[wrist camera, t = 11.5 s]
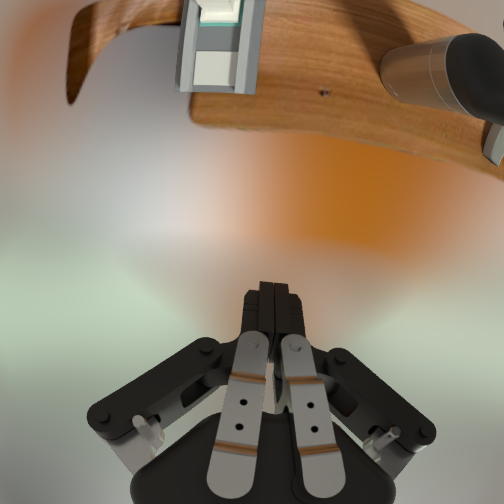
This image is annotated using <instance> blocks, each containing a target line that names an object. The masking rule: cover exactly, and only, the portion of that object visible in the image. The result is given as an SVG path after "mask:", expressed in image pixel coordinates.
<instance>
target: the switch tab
mask: <svg viewBox="0 0 504 504" xmlns="http://www.w3.org/2000/svg"><path fill="white" fill-rule="evenodd" d="M195 1H196V2H197V3H198V4H199V6H200V7H201V8H202V10H201V17H200V21H201V22H202V23H238V21H239V13H240V5H241V0H195Z"/></svg>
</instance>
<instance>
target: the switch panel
mask: <svg viewBox="0 0 504 504" xmlns="http://www.w3.org/2000/svg"><path fill="white" fill-rule="evenodd" d="M265 3H266V0H241V5H240V13H239V21H238V23H202V22H201V21H200V17H201V10H202V8H201V7H200V6H199V4H198V3H197V2H196V1H195V0H184V6H183V13H182V20H181V28H180V36H179V45H178V56H177V65H176V78H175V92H222V93H240V94H252V95H255V92H256V82H257V73H258V64H259V55H260V46H261V37H262V28H263V20H264V11H265Z"/></svg>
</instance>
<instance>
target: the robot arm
mask: <svg viewBox="0 0 504 504" xmlns="http://www.w3.org/2000/svg"><path fill="white" fill-rule="evenodd" d="M503 26H504V22H503ZM380 76H381V80H382V82H383V85H384V86H385V88H386V90H387V91H388V92H389V93H390V94H391V95H392V96H393V97H394V98H395V99H397V100H399V101H401V102H403V103H407V104H414V105H419V106H425V107H430V108H436V109H441V110H445V111H450V112H454V113H459V114H463V115H467V116H471V117H475V118H479V119H482V120H486V121H489V122H492V123H495V124H498V125H501V126H503V127H504V50H503V49H502V48H501V47H500V46H499V45H498V44H497V43H496V42H495V41H494V40H492V39H491V38H489V37H487V36H485V35H482V34H477V33H470V34H462V35H455V36H449V37H444V38H438V39H433V40H428V41H424V42H419V43H415V44H411V45H406V46H402V47H399V48H395V49H392V50H390V51H388V52H387V53H386V54H385V55H384V56H383V58H382V60H381V63H380ZM268 358H269V363H274V370H273V374H272V381H273V393H274V404H275V411H274V414H269V413H266V412H263V411H262V408H263V399H264V391H265V382H266V379H265V373H266V364H267V362H268ZM222 385H228V386H227V391H226V395H225V399H224V404H223V409H222V412H220V413H216V414H213V415H211V416H208V417H207V418H205V419H203V420H202V421H201V422H199V423H198V424H197V425H196V426H195V427H194V428H192V429H191V430H190V431H189V432H187V433H186V434H185V435H184V436H182V437H181V438H180V439H179V440H178V441H176V442H175V443H174V444H172V445H171V446H170V447H168V448H167V449H166V450H165V451H163V452H162V453H161V454H159V455H158V456H157V457H155V454H156V452H157V450H158V449H159V448H160V447H161V446H162V444H163V443H164V440H165V436H164V432H163V429H165V428H166V427H168V426H169V425H170V424H172V423H173V422H175V421H176V420H177V419H179V418H180V417H181V416H183V415H184V414H186V413H187V412H188V411H190V410H191V409H192V408H194V407H195V406H196V405H198V404H199V403H200V402H201V401H203V400H204V399H205V398H207V397H208V396H209V395H210V394H212V393H213V392H214V391H215V390H217V389H218V388H219V387H220V386H222ZM330 412H331V413H332V414H333V415H335V416H336V417H337V418H338V419H339V420H340V421H341V422H342V423H343V424H344V425H345V426H346V427H347V428H348V429H349V430H350V431H351V432H353V433H354V434H355V435H356V436H357V437H358V438H359V439H360V440H361V441H362V442H363V449H362V448H361V447H360V446H359V445H358V444H356V443H355V442H354V441H353V440H352V439H351V438H350V437H349V436H348V435H347V433H346V432H345V431H344V430H342V429H341V427H340V426H338V425H337V424H336V423H335V422H333V421H332V420H331V415H330ZM87 421H88V424H89V425H90V426H91V428H93V430H94V431H95V432H96V433H97V435H98V436H99V437H100V438H101V439H102V440H104V441H105V442H106V443H107V444H108V445H109V446H110V447H111V448H112V449H113V451H114V452H115V453H116V455H117V456H118V457H119V459H120V460H121V461H122V462H123V464H124V465H125V466H126V467H127V468H128V470H129V471H130V472H131V473H132V474H133V476H134V477H133V478H132V481H131V485H130V494H131V498H132V500H133V503H134V504H393V503H394V500H395V496H396V487H395V484H394V481H393V480H394V479H395V478H396V477H397V476H398V474H399V473H400V472H401V471H402V470H403V469H404V467H405V466H406V465H407V463H408V462H409V461H410V460H411V458H412V457H413V456H414V455H415V454H416V453H417V452H419V451H420V450H422V449H424V448H425V447H427V446H428V445H430V444H431V443H432V442H433V441H434V440H435V437H436V428H435V426H434V424H433V423H432V422H431V421H430V420H429V419H427V418H426V417H425V416H424V415H423V414H421V413H420V412H419V411H418V410H417V409H416V408H414V407H413V406H412V405H411V404H410V403H408V402H407V401H406V400H405V399H404V398H403V397H401V396H400V395H399V394H398V393H397V392H395V391H394V390H393V389H392V388H391V387H390V386H388V385H387V384H386V383H385V382H384V381H383V380H381V379H380V378H379V377H378V376H376V374H374V373H373V372H372V371H371V370H370V369H369V368H367V367H366V366H365V365H364V364H363V363H362V362H360V361H359V360H358V359H357V358H356V357H355V356H354V355H352V354H351V353H350V352H349V351H347V350H346V349H342V348H334V349H331V350H330V351H329V352H325V351H322V350H319V349H316V348H314V347H313V346H311V345H310V343H309V342H308V340H307V339H306V335H305V327H304V319H303V311H302V303H301V300H300V298H299V297H298V295H297V294H289V289H288V284H283V283H272V282H263V281H260V283H259V290H258V291H256V290H249V291H248V292H247V293H246V295H245V296H244V306H243V315H242V325H241V333H240V335H239V337H238V338H237V339H235V340H233V341H231V342H228V343H222V344H220V343H219V342H218V341H216V340H215V339H213V338H209V337H203V338H199V339H197V340H195V341H194V342H192V343H191V344H189V345H188V346H186V347H185V348H183V349H182V350H180V351H178V352H177V353H175V354H174V355H172V356H171V357H169V358H168V359H166V360H165V361H163V362H161V363H160V364H158V365H157V366H155V367H154V368H152V369H151V370H149V371H147V372H146V373H144V374H143V375H141V376H139V377H138V378H136V379H135V380H133V381H131V382H130V383H128V384H127V385H125V386H123V387H122V388H120V389H119V390H117V391H115V392H113V393H112V394H110V395H108V396H107V397H105V398H103V399H102V400H100V401H98V402H97V403H95V404H93V405H92V406H91V407H90V408H89V410H88V412H87Z"/></svg>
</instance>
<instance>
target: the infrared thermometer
mask: <svg viewBox="0 0 504 504" xmlns="http://www.w3.org/2000/svg"><path fill="white" fill-rule="evenodd" d="M483 156H485V157H486V158H487V159H488V160H489V161H490V162H491V163H493V164H494V165H496V166H497V167H498V166H499V163H500V161H501V159H502V157H503V156H504V127H503V126H501V125H498V124H495V123H493V124H492V126H491V128H490V131H489V133H488V136H487V139H486V142H485V145H484V150H483Z"/></svg>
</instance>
